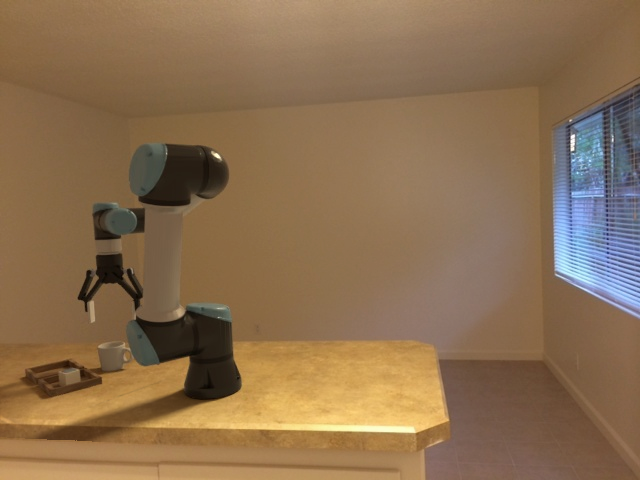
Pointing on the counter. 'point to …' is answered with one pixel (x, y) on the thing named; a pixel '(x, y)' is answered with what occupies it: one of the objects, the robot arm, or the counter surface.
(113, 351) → the cup
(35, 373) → the tray
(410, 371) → the counter surface
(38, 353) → the counter surface
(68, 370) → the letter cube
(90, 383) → the tray
